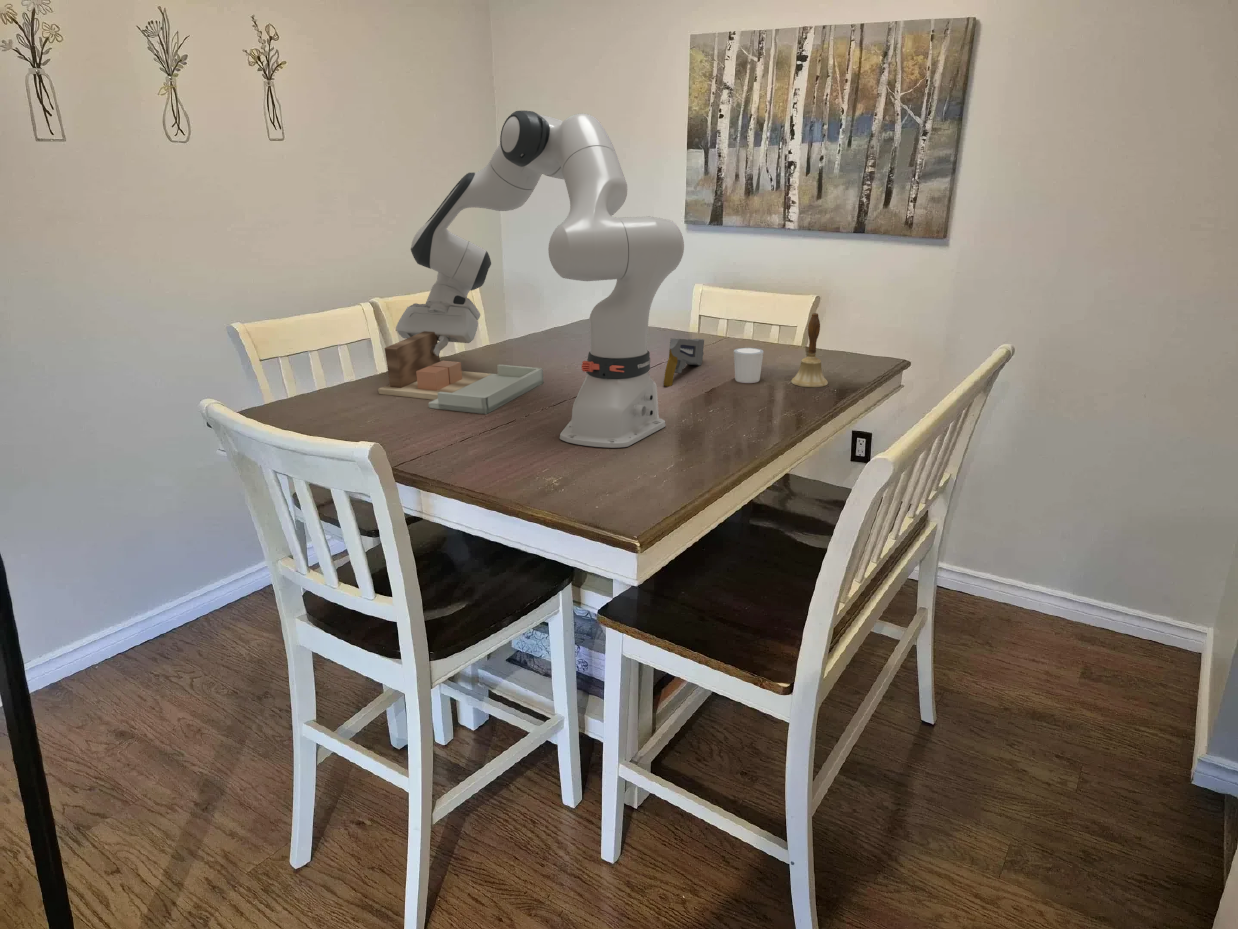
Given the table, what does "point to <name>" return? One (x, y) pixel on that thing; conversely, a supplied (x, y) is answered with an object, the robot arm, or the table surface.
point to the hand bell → (811, 360)
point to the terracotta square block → (451, 370)
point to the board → (414, 392)
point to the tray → (491, 390)
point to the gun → (682, 356)
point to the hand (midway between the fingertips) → (425, 353)
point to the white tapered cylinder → (748, 364)
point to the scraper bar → (410, 358)
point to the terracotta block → (432, 378)
